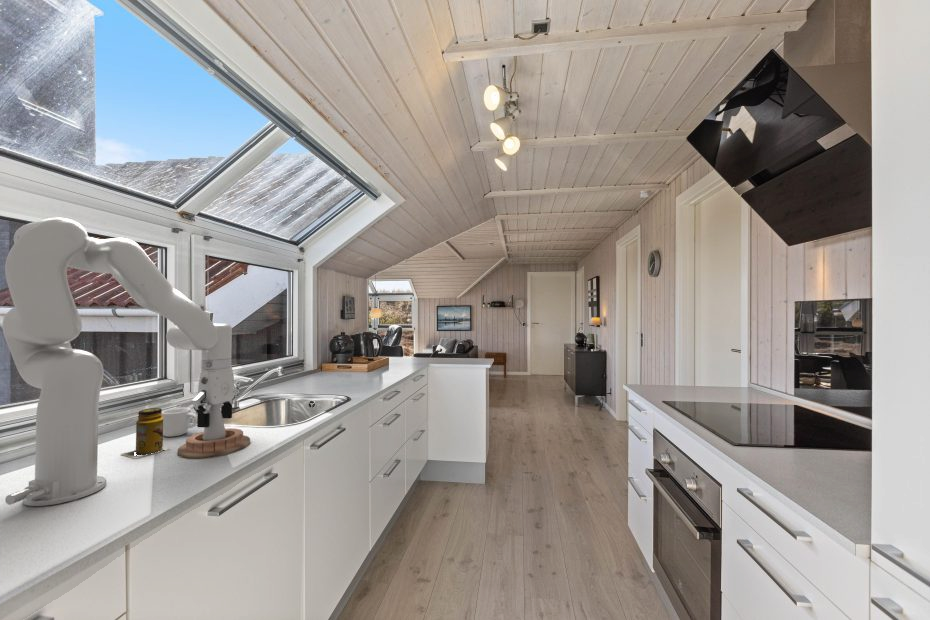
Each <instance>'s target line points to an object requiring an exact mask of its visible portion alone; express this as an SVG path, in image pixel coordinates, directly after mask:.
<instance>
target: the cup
mask: <svg viewBox="0 0 930 620" xmlns="http://www.w3.org/2000/svg"><path fill="white" fill-rule="evenodd" d="M191 410H192V409H191V408H190V407H174V408H168V409H165V410H164V409H163V410H162V417H163V437H166V438H167V437H168V438H170V437H179V436H182V435H185V434H186V433H187V432H188V431H189V429H192V428H194V427H196V426H197V415H198V414H196V413H194V412H192V411H191ZM191 417H192V418H193V424H191V422H190V419H191Z"/></svg>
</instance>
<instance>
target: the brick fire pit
mask: <svg viewBox="0 0 930 620" xmlns="http://www.w3.org/2000/svg"><path fill="white" fill-rule="evenodd" d="M225 431H226V436H225V438H224V439H219V440H212V441H203V438H202V437H203V433H204V431H201V432H198V433H194V434H192V435H189V436H188V437H187V438H186V439H185V443H184V444H182V445H180V446H179V447H178V448H177V456H178V455H179V457H180V456H181V457H180V458H184V459H194V460H195V459H208V457H210V458H215V457H214V456H216V457H221V456H220V455H222V456H225V455H224V454H226V455H228V454H229V453H230V454H233V453H236V452H240V451H242V450H244V449H245V448H247V447H248V446H249V445H250V444H251V438H250V437H249V436H247V435H244V431H243V430H242V429H239V428H232V427H231V428H225ZM246 446H247V447H246ZM232 452H233V453H232Z"/></svg>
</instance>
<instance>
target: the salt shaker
mask: <svg viewBox="0 0 930 620" xmlns="http://www.w3.org/2000/svg"><path fill="white" fill-rule="evenodd" d="M222 406H223V403H221V404H218V405H211V407H210V409H209V411H208V413H210V425H209V427H207V428H205V427H203V428H204V429H203V432H204V433H203V437H202V438H203V441H212V440H219V439H224V438H225V436H226V431H225V429H226V428H225V427H226V426H225V424H224V418H222V413H221V407H222ZM205 407H206V406H204V408H205Z"/></svg>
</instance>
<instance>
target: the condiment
mask: <svg viewBox="0 0 930 620" xmlns="http://www.w3.org/2000/svg"><path fill="white" fill-rule="evenodd" d="M162 411H163V409H162V408H160V407H151V408H145V409H141V410H139V411H138V412H137V413H138V416H137V418H138V420H137V421H136V424H135V425H136V426H135V427H136V428H135V431H136V432H135V449H134V450H132V451H128V452H124V453H121V454H120V455H121V456H124V457H127V456H128V457H127V458H131V459H135V460H137V459H139V458H143V457H146V456H151V455H152V454H151V453H155V452H157V453H155V454H158V453H159V452H158V451H161V450H163V448H165V449H167V450H165V449H164V450H165V451H168V450H170V448H168V447H164V445H163V444H164V435H163V417H162ZM134 452H136V454H137V455H143V456H137V455H136V456H134ZM146 454H149V455H146Z"/></svg>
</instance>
